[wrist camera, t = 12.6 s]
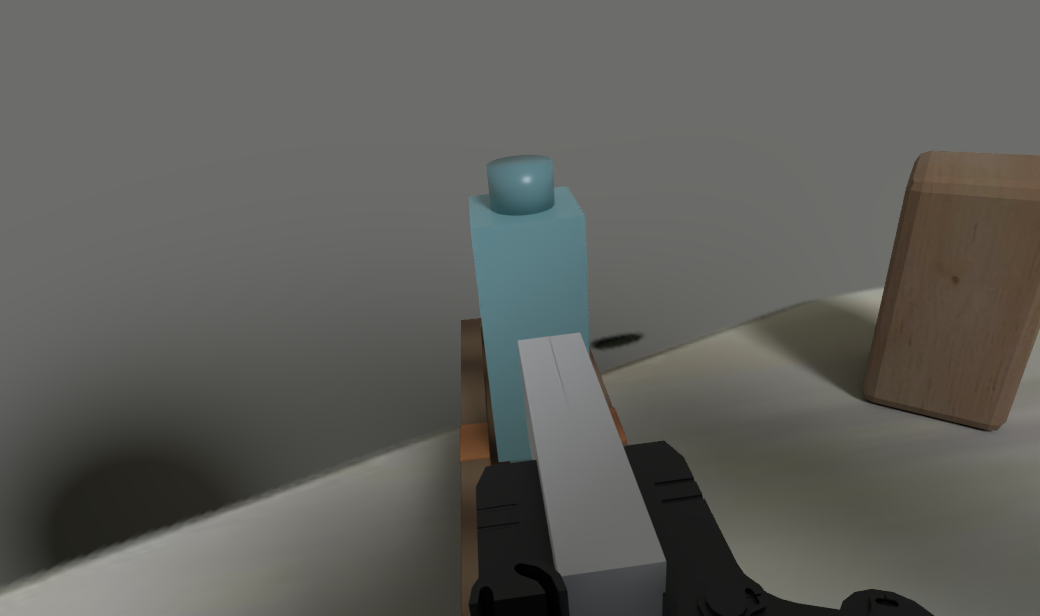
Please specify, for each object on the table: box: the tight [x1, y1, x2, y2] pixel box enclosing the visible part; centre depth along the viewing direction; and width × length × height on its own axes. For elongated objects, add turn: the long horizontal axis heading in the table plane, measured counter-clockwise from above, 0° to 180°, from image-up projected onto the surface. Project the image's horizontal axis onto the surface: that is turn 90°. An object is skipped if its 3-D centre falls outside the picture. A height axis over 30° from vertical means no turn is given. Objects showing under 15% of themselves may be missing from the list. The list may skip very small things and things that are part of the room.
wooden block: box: [862, 151, 1040, 430], centre depth 48 cm, size 10×10×20 cm
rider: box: [469, 155, 589, 463], centre depth 30 cm, size 5×5×16 cm
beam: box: [460, 318, 628, 616], centre depth 36 cm, size 30×9×12 cm, turn 5°
